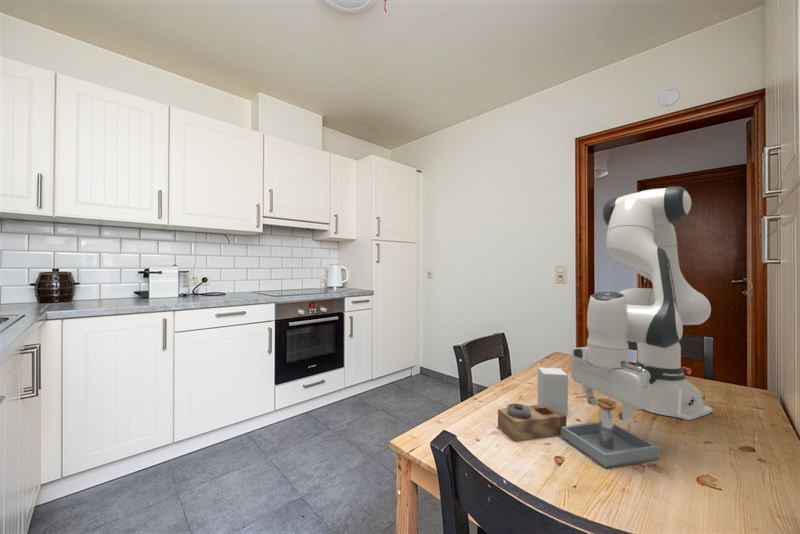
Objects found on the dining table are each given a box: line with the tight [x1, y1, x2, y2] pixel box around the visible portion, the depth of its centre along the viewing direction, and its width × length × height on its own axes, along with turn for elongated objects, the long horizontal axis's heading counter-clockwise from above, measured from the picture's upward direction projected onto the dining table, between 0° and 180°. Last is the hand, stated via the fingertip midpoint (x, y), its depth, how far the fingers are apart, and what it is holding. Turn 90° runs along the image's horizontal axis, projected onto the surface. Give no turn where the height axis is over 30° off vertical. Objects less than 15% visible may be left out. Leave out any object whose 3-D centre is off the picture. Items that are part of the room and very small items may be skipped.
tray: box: [560, 421, 660, 470], centre depth 80 cm, size 16×14×3 cm
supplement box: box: [537, 366, 569, 416], centre depth 102 cm, size 7×7×13 cm
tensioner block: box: [497, 403, 567, 443], centre depth 89 cm, size 16×8×7 cm, turn 104°
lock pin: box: [596, 398, 617, 449], centre depth 80 cm, size 4×4×11 cm
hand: (607, 411), depth 80 cm, fingers open, 8 cm apart
